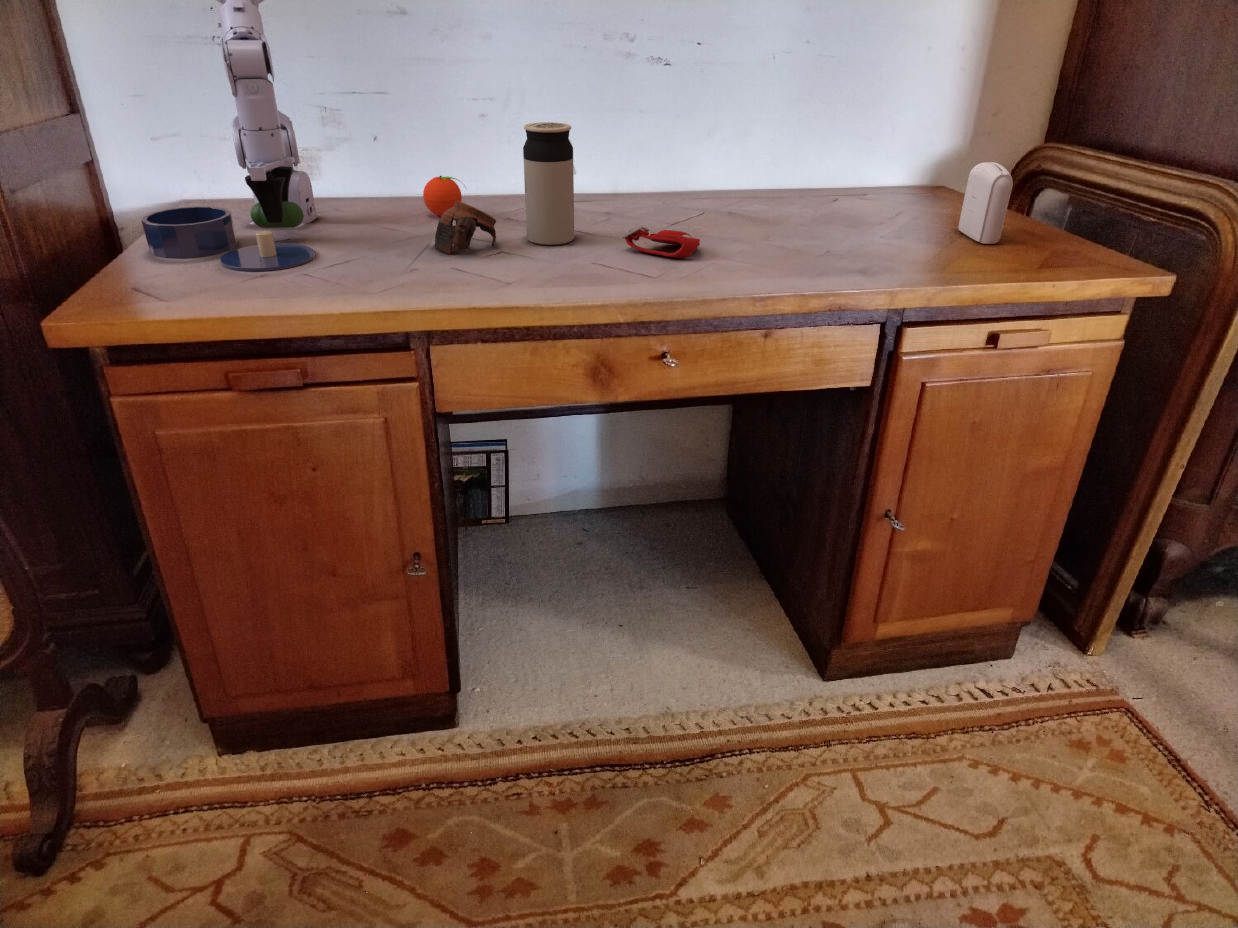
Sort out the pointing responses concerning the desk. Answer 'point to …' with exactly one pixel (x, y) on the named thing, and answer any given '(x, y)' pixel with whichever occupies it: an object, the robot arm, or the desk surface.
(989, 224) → the photo printer
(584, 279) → the desk surface
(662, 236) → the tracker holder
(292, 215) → the cucumber
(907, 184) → the desk surface
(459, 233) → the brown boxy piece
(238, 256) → the crock lid
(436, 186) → the clementine
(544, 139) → the travel mug
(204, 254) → the crock
